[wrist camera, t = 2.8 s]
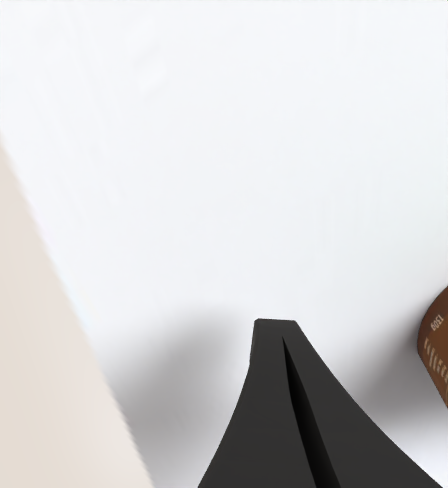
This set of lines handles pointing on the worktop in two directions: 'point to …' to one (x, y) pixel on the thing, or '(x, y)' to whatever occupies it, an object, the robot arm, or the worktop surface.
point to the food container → (436, 343)
